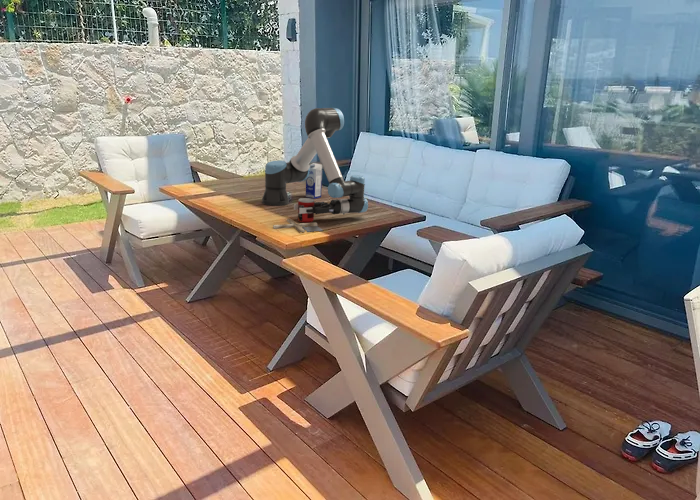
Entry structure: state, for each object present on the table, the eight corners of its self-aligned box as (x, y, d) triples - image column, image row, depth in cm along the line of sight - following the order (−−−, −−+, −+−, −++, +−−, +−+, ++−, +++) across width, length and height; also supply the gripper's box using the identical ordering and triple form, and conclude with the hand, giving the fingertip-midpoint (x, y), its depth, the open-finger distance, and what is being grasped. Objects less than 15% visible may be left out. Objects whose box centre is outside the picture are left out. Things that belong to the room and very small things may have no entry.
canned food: (297, 218, 278) (298, 197, 275) (313, 219, 279) (314, 198, 275) (297, 222, 271) (298, 201, 267) (313, 223, 272) (314, 201, 268)
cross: (280, 234, 251) (280, 232, 251) (267, 222, 270) (267, 219, 270) (324, 231, 260) (324, 228, 259) (309, 219, 279) (309, 217, 278)
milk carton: (321, 197, 329) (322, 164, 323) (314, 198, 324) (315, 165, 318) (312, 195, 333) (313, 162, 327) (305, 196, 328) (306, 163, 322)
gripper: (346, 218, 272) (303, 221, 263) (331, 208, 290) (290, 210, 281) (347, 204, 270) (303, 206, 261) (331, 195, 288) (290, 196, 279)
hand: (296, 208), depth 271 cm, fingers closed on canned food, 8 cm apart
